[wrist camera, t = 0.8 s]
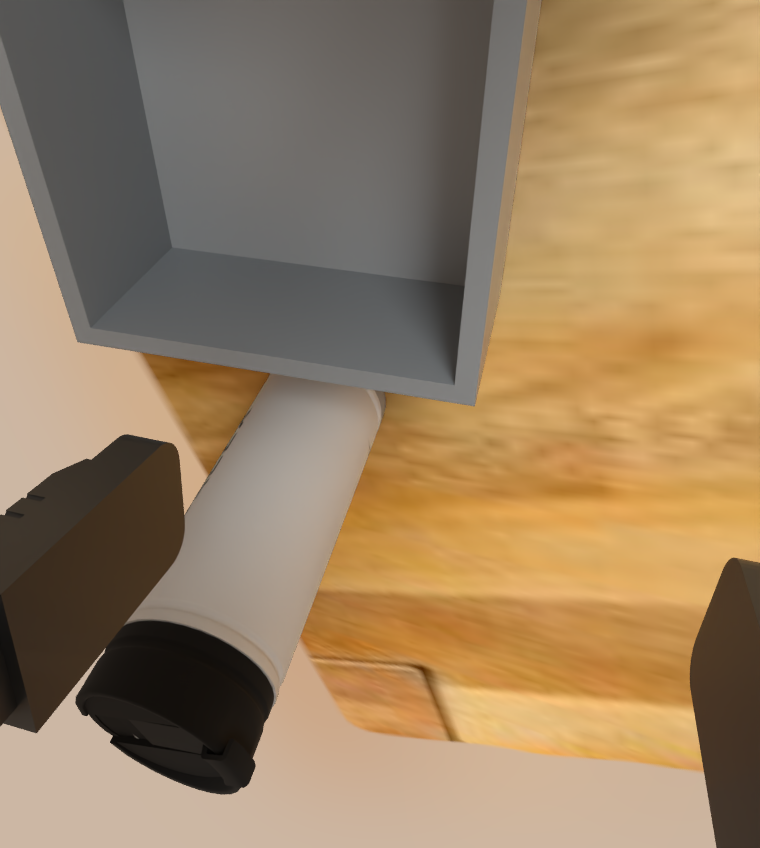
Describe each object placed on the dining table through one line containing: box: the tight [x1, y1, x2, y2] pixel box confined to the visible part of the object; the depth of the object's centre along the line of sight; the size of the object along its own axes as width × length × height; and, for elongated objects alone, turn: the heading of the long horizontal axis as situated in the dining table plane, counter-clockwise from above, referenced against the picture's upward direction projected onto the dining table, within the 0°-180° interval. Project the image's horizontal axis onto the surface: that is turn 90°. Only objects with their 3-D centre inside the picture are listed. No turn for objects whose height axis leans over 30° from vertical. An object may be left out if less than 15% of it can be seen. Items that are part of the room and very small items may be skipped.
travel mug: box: [76, 373, 386, 794], centre depth 30 cm, size 6×7×20 cm
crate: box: [0, 0, 542, 406], centre depth 24 cm, size 18×16×8 cm
